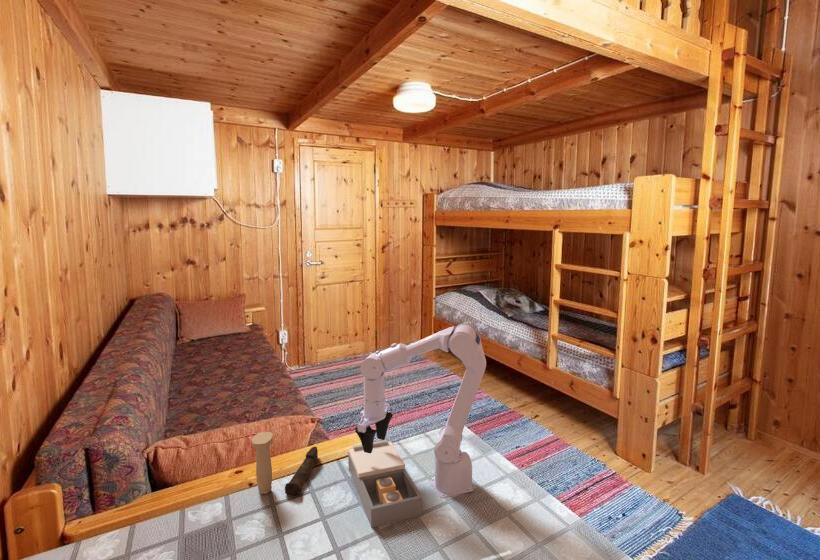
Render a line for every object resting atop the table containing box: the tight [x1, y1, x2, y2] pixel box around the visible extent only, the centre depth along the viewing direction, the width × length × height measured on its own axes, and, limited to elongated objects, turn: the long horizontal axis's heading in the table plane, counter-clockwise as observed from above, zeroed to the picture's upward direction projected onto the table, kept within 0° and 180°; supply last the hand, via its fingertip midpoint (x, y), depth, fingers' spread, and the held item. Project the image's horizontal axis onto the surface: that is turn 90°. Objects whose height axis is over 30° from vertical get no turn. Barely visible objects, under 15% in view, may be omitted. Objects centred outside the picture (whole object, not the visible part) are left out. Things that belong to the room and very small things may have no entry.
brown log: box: [284, 446, 319, 498], centre depth 119 cm, size 19×4×5 cm, turn 170°
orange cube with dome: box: [383, 490, 403, 504], centre depth 103 cm, size 4×4×4 cm
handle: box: [251, 431, 274, 495], centre depth 111 cm, size 5×6×15 cm
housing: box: [347, 452, 423, 529], centre depth 112 cm, size 13×26×5 cm, turn 20°
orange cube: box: [376, 477, 396, 504], centre depth 109 cm, size 4×4×4 cm
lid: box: [348, 439, 406, 478], centre depth 117 cm, size 13×13×2 cm
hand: (374, 445), depth 117 cm, fingers open, 7 cm apart
